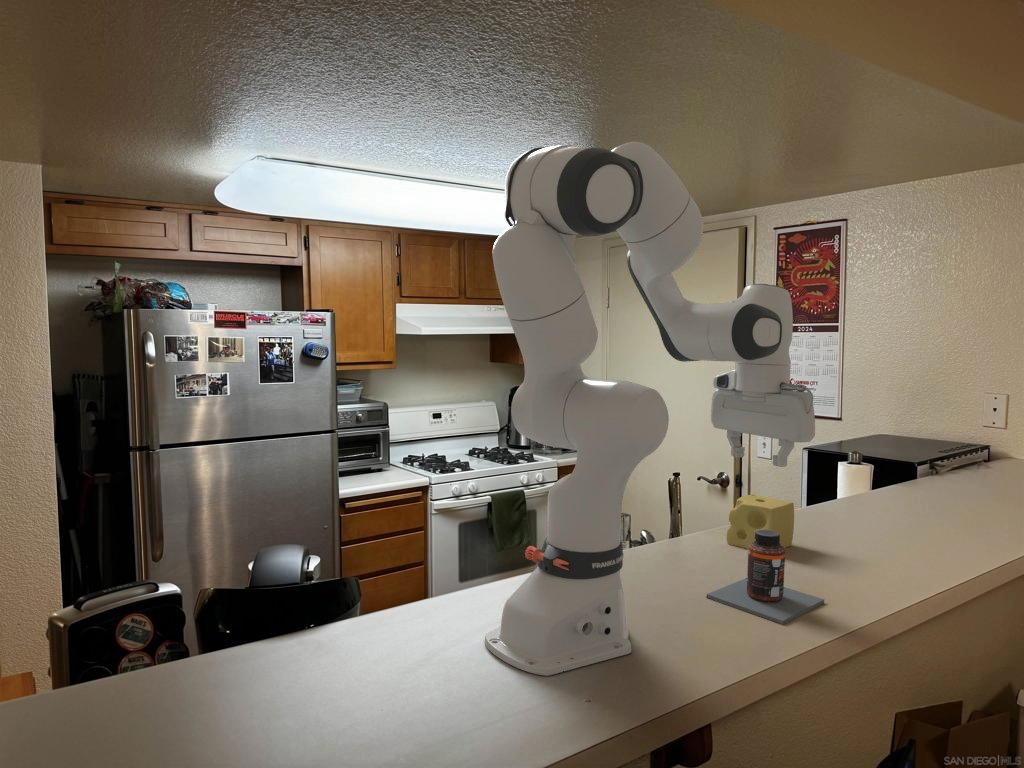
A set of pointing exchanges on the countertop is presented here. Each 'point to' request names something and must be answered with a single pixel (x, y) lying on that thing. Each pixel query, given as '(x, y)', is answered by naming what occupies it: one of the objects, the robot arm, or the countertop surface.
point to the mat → (774, 611)
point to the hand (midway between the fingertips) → (757, 461)
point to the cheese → (760, 520)
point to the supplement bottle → (766, 567)
